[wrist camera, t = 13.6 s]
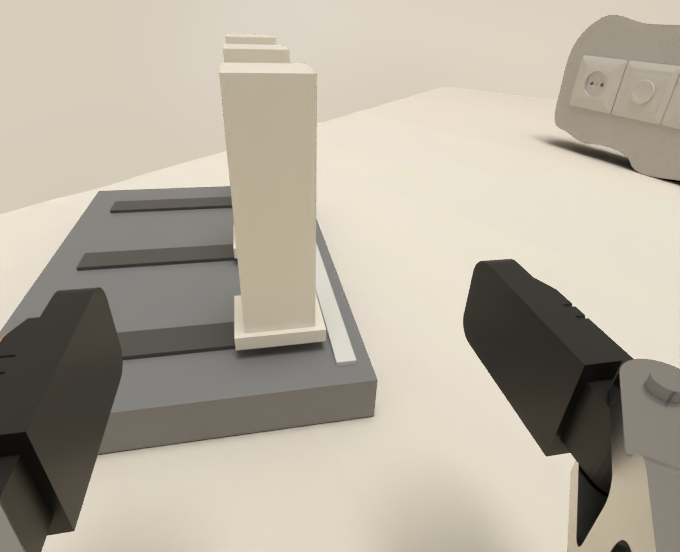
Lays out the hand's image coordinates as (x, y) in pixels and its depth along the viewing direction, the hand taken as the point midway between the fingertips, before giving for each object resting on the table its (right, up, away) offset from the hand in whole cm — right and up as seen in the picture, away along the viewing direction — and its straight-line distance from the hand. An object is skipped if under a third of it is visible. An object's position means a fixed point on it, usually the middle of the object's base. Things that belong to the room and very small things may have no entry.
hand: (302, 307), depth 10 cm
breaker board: (-7, 0, +16) cm, 18 cm away
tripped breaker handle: (-2, -1, +9) cm, 10 cm away
